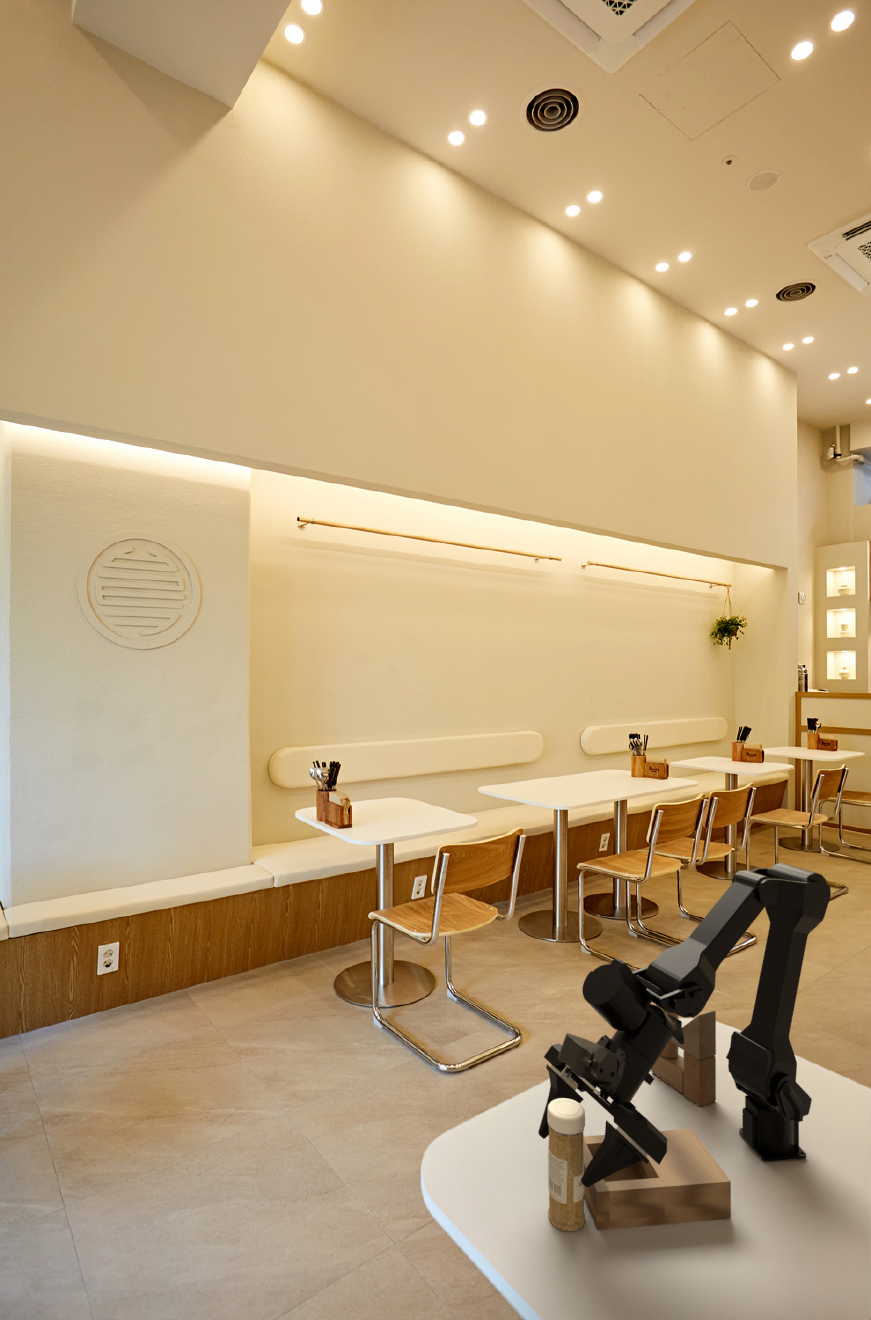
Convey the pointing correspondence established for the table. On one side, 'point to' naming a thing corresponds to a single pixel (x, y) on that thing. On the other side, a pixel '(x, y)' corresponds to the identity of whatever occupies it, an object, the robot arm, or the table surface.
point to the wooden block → (692, 1060)
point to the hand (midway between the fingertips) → (561, 1159)
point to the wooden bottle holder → (660, 1187)
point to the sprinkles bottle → (566, 1164)
